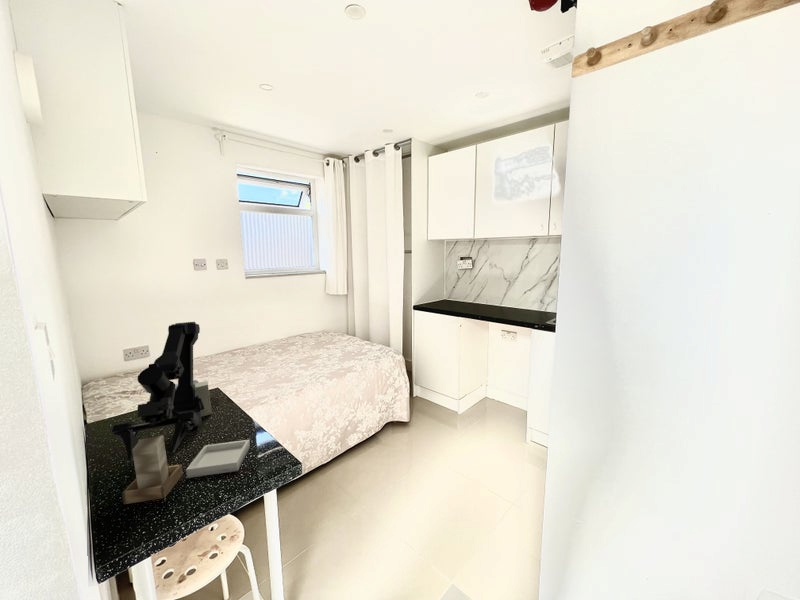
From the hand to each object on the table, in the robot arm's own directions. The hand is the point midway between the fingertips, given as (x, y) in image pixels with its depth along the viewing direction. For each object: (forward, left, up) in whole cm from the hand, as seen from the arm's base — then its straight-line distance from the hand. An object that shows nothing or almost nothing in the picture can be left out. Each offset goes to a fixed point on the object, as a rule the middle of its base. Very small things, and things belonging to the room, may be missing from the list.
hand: (151, 457), depth 83 cm
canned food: (+14, -51, -9) cm, 53 cm away
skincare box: (+6, -45, -9) cm, 46 cm away
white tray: (-13, -8, -8) cm, 18 cm away
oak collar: (0, +1, -8) cm, 9 cm away
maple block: (0, +1, -8) cm, 9 cm away
